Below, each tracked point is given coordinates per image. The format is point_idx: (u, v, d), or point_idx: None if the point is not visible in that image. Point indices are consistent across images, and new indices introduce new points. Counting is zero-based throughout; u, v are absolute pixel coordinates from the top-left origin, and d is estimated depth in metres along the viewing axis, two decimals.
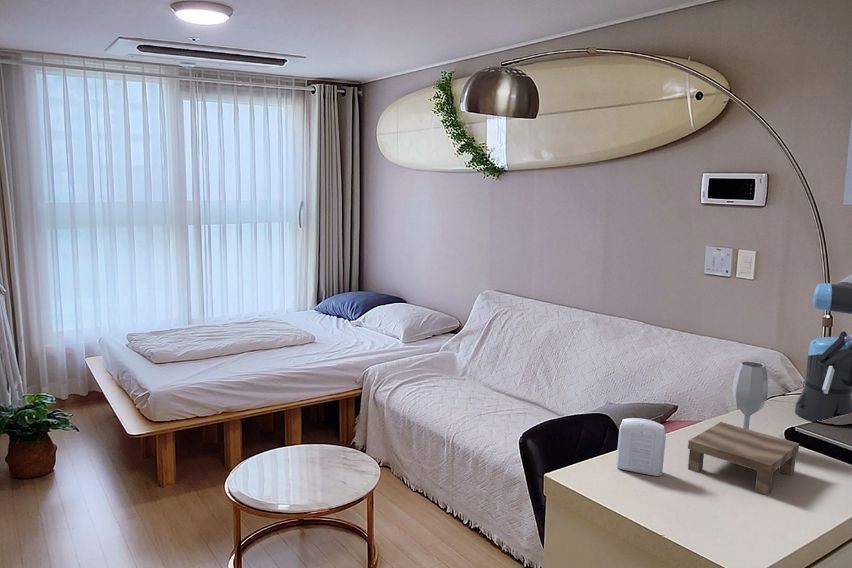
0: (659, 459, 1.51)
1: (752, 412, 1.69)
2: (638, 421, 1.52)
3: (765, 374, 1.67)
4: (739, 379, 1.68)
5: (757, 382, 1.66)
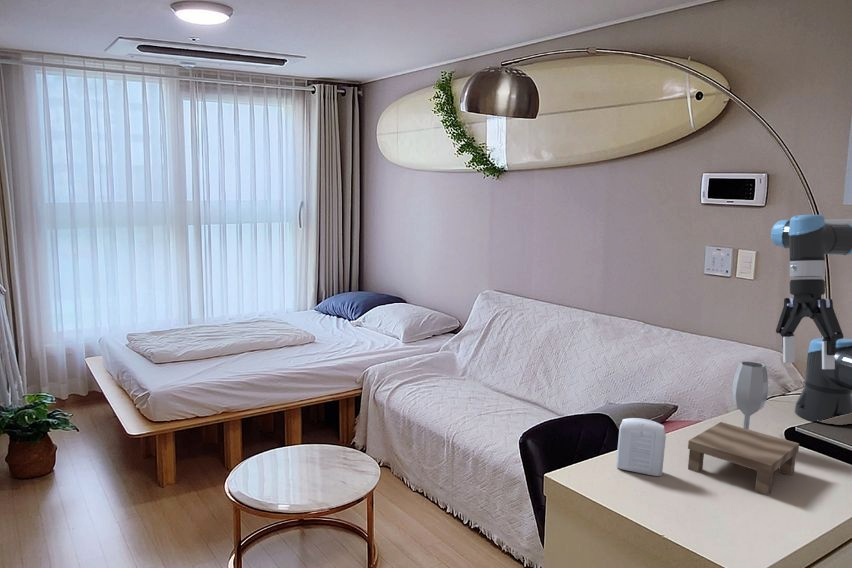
0: (659, 459, 1.51)
1: (752, 412, 1.69)
2: (638, 421, 1.52)
3: (765, 374, 1.67)
4: (739, 379, 1.68)
5: (757, 382, 1.66)
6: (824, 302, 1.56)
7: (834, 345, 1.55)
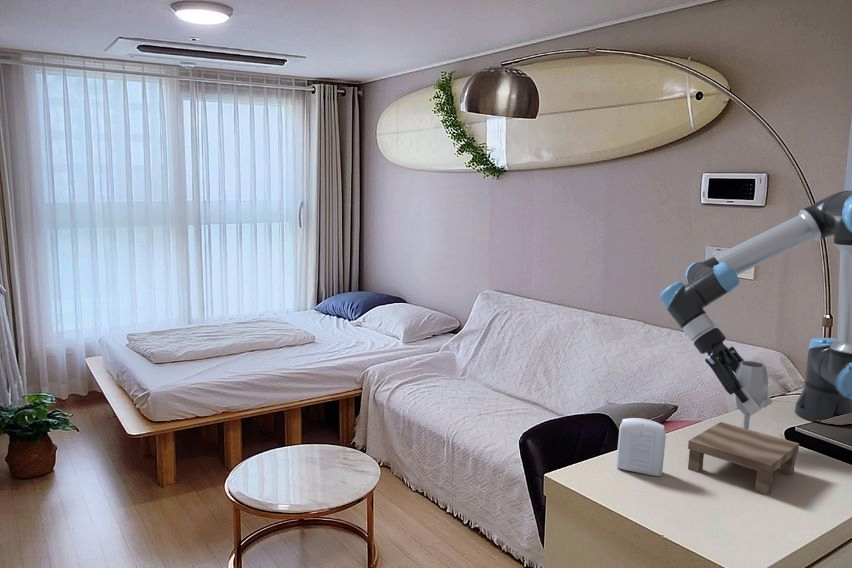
0: (659, 459, 1.51)
1: None
2: (638, 421, 1.52)
3: (765, 374, 1.67)
4: (739, 379, 1.68)
5: (757, 382, 1.66)
6: (707, 362, 1.70)
7: (739, 393, 1.66)
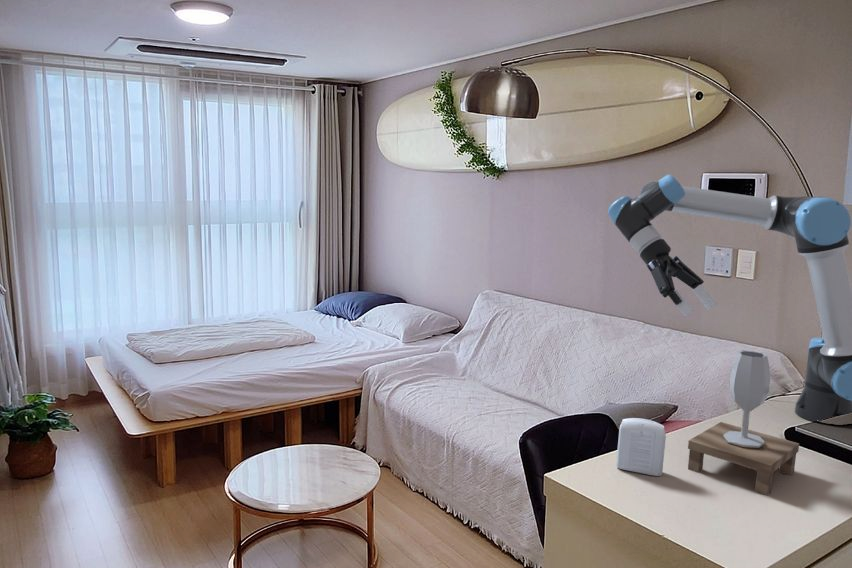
0: (659, 459, 1.51)
1: (752, 407, 1.51)
2: (638, 421, 1.52)
3: (767, 365, 1.49)
4: (738, 371, 1.50)
5: (758, 374, 1.48)
6: (648, 267, 1.73)
7: (673, 295, 1.67)
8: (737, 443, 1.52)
